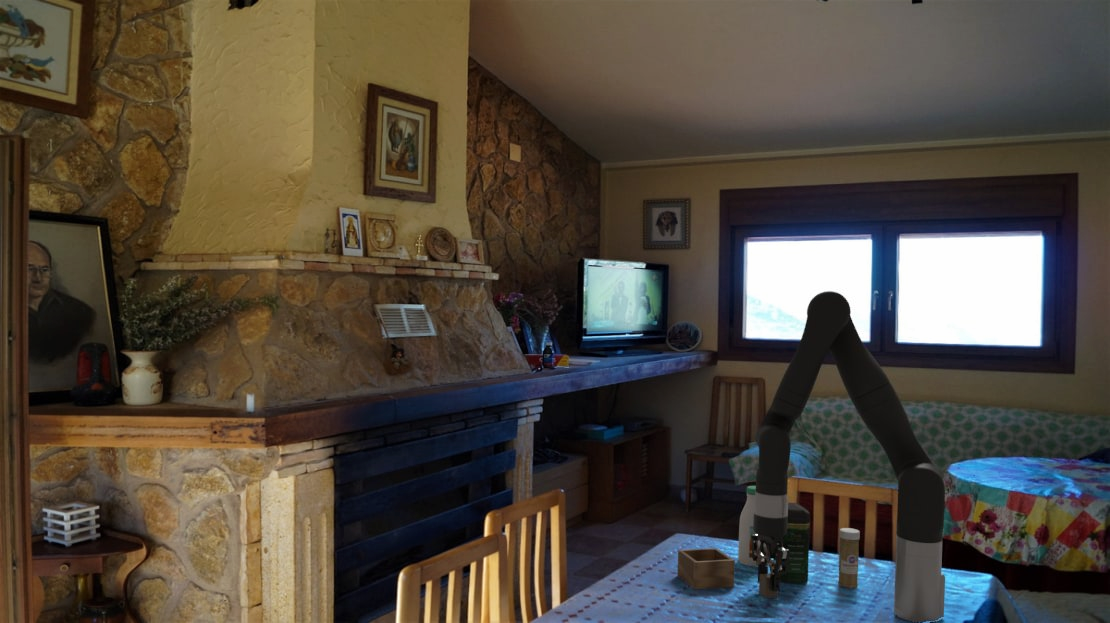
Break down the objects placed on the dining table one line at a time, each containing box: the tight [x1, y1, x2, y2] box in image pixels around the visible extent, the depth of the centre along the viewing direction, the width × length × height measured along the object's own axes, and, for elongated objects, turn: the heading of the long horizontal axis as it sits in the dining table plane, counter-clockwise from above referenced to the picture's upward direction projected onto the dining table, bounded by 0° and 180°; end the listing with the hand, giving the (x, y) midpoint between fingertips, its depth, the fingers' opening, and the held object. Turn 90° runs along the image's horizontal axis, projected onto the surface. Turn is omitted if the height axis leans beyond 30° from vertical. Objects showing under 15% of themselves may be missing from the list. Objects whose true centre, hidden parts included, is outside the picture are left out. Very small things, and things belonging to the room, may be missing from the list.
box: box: [677, 547, 736, 590], centre depth 205 cm, size 10×10×7 cm
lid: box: [758, 573, 802, 606], centre depth 196 cm, size 11×11×6 cm
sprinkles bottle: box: [837, 527, 861, 589], centre depth 207 cm, size 5×5×13 cm
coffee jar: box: [772, 501, 811, 585], centre depth 210 cm, size 10×8×19 cm
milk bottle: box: [737, 485, 769, 567], centre depth 221 cm, size 8×8×20 cm
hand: (768, 586), depth 196 cm, fingers open, 5 cm apart
